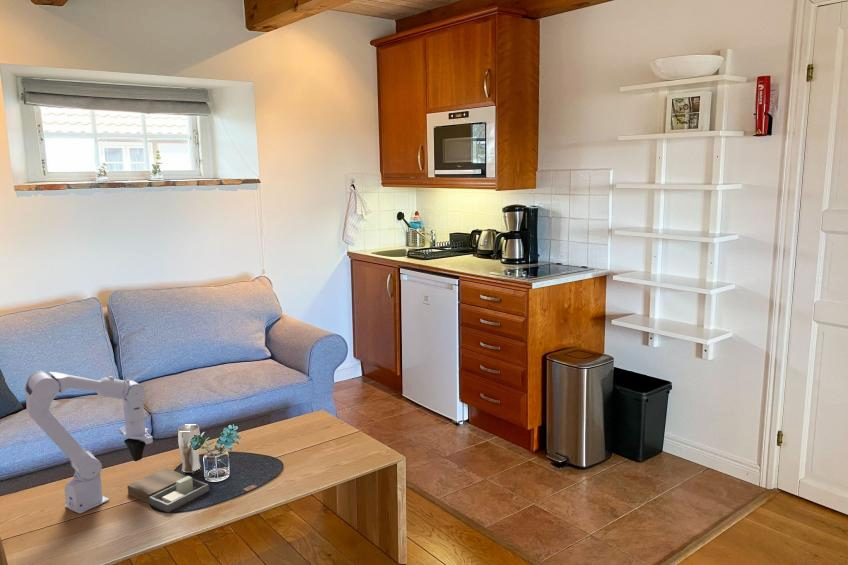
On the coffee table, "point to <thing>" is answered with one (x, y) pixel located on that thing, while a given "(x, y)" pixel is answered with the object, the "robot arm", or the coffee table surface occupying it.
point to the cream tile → (171, 497)
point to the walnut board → (154, 484)
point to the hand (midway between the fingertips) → (137, 459)
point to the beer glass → (188, 447)
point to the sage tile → (184, 485)
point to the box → (168, 507)
